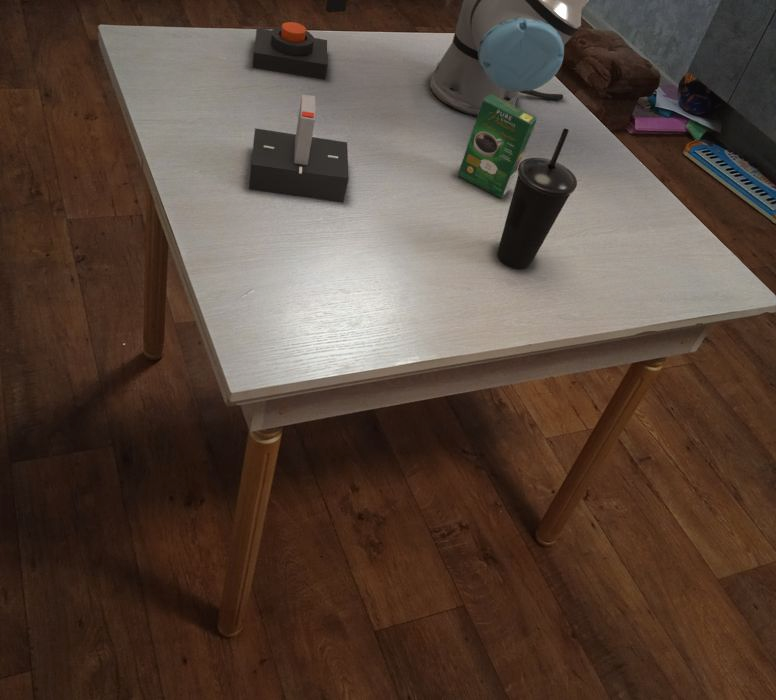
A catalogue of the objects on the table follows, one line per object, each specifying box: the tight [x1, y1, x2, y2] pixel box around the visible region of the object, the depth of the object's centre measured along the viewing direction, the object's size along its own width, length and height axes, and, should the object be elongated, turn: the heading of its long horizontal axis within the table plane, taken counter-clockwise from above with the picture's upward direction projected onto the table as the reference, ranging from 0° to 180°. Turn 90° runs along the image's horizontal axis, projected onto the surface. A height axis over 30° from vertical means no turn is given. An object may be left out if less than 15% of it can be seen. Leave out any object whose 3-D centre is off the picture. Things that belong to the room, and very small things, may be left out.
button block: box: [251, 25, 329, 80], centre depth 138 cm, size 12×9×4 cm
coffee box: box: [457, 94, 538, 199], centre depth 120 cm, size 8×3×13 cm, turn 58°
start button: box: [281, 21, 307, 43], centre depth 136 cm, size 4×4×2 cm
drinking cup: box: [496, 128, 578, 270], centre depth 106 cm, size 8×8×20 cm
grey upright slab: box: [294, 94, 316, 165], centre depth 111 cm, size 6×2×7 cm, turn 3°
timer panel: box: [248, 127, 350, 203], centre depth 114 cm, size 13×10×4 cm
